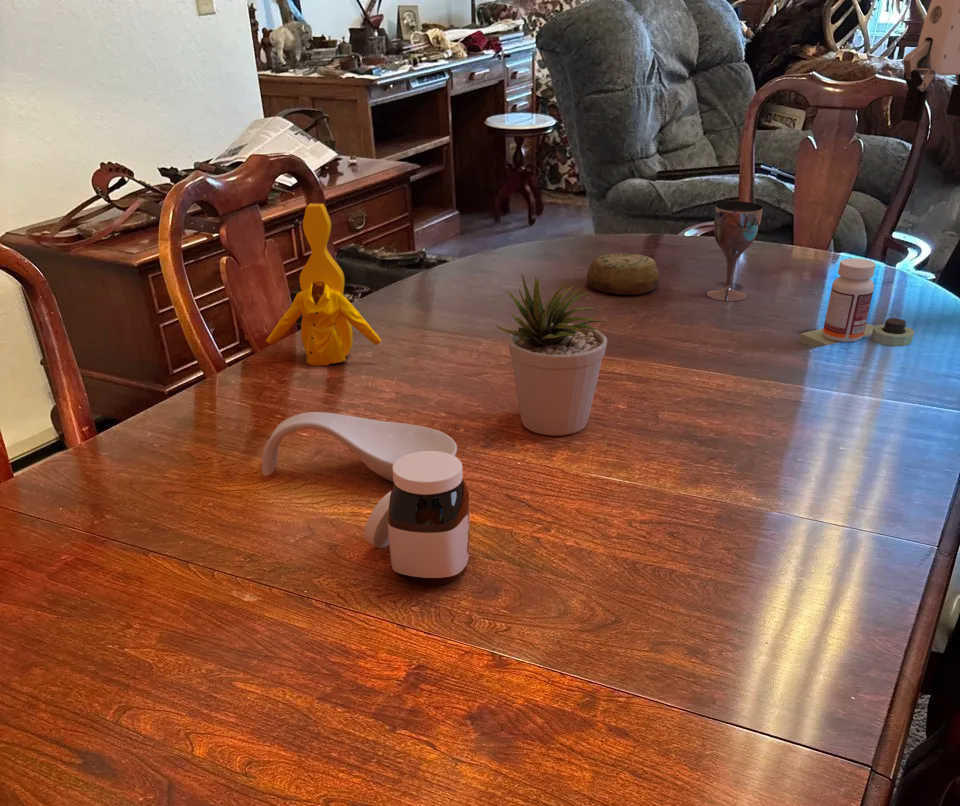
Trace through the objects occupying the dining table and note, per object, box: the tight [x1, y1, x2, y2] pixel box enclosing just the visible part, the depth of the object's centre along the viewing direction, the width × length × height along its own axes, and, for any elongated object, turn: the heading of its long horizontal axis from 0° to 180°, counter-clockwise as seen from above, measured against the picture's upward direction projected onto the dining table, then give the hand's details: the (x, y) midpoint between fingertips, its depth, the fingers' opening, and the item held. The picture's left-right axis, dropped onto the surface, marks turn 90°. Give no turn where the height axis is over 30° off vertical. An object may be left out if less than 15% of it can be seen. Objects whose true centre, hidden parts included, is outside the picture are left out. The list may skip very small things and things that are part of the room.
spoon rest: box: [261, 411, 458, 483], centre depth 115 cm, size 24×12×7 cm, turn 89°
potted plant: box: [495, 273, 608, 437], centre depth 123 cm, size 13×14×20 cm
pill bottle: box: [822, 257, 876, 343], centre depth 148 cm, size 6×6×11 cm
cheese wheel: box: [586, 253, 660, 296], centre depth 177 cm, size 14×13×5 cm
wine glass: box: [706, 200, 764, 302], centre depth 169 cm, size 8×8×15 cm
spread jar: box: [363, 451, 471, 586], centre depth 97 cm, size 12×11×12 cm
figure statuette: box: [265, 202, 383, 367], centre depth 142 cm, size 18×8×22 cm, turn 87°
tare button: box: [883, 317, 907, 334], centre depth 148 cm, size 3×3×2 cm
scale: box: [798, 322, 915, 349], centre depth 150 cm, size 13×12×3 cm
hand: (933, 118), depth 144 cm, fingers open, 9 cm apart
